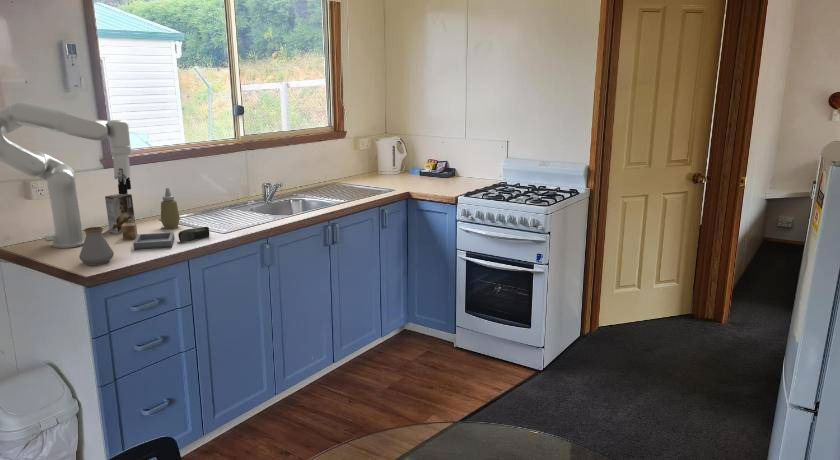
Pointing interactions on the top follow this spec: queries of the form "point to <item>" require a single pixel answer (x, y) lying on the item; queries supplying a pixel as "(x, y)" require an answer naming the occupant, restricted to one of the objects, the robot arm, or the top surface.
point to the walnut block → (129, 231)
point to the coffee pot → (97, 245)
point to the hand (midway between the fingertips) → (125, 191)
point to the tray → (154, 241)
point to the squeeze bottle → (169, 211)
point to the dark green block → (193, 234)
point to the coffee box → (119, 210)
